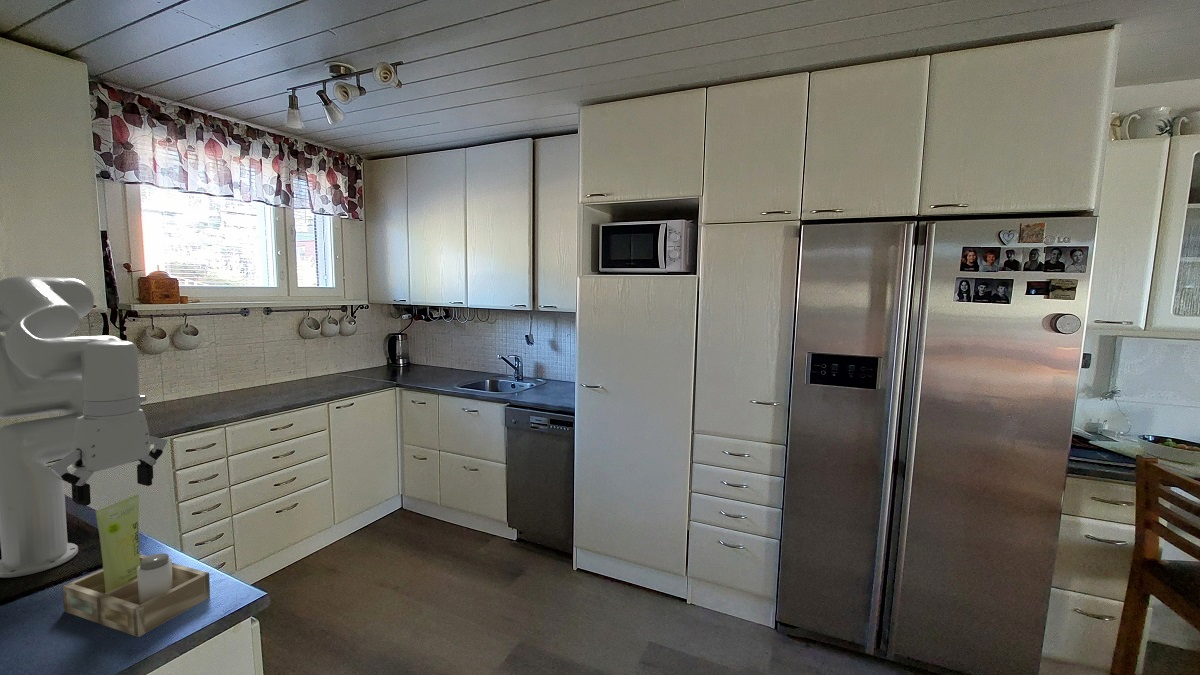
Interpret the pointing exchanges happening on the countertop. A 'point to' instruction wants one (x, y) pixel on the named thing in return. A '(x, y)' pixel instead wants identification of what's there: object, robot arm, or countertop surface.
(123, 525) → the tube
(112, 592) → the box
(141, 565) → the jar
